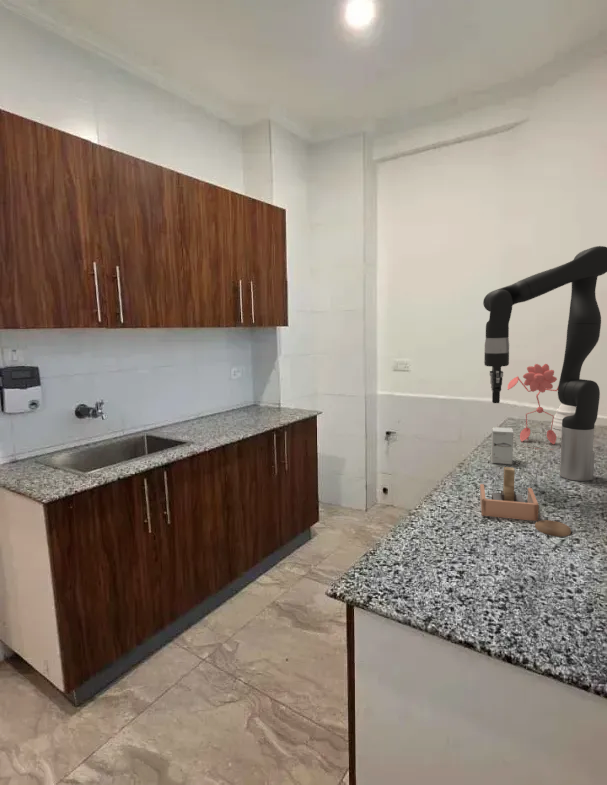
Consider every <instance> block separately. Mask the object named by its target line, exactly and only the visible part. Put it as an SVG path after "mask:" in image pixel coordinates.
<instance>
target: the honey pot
mask: <svg viewBox="0 0 607 785" xmlns="http://www.w3.org/2000/svg"><path fill="white" fill-rule="evenodd" d="M575 411H576V407H575V406H569V405H564V404H562V403H560V405H559V407H558V408H556V409H555V413H554V415H553V416H554V419H553V418H552V419H553V425H552V421H551V423H550V426H551V425H552V431H554V433H555V434H556V438H560V439H561V436H562V420H563V418H564V417H567V416H572V415H574V414H575Z"/></svg>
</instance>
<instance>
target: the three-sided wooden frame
mask: <svg viewBox="0 0 607 785" xmlns="http://www.w3.org/2000/svg"><path fill="white" fill-rule="evenodd" d="M536 497H537V496H536V495H535V493H534V490H533V488H532V487H528V488H527V502H525V501H524V502H514V501H503V500H492V498H486V490H485V484H484V483H480V484H479V502H480V513H481V516H483V517H493V518H503V519H504V518H505V519H512V520H514V519H515V520H523V521H524V520H525V521H533V522H534V521H536V522H537V521H539V509H540V508H539V506H540V504H539V503H538V500H537V498H536Z"/></svg>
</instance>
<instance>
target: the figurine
mask: <svg viewBox="0 0 607 785" xmlns="http://www.w3.org/2000/svg"><path fill="white" fill-rule="evenodd" d="M526 370H527V372H526V373H524V374H523V376H522V378H524V383H523V381H522V380H521V379H520V377H519V376H518V375H517V376H516V377H514V378H512V379H511V380H510V381H509V382H508V384H507V390H508V391H509V390H511V389H513V388H514V387H515V386H517V384H518V382H520V384H521V385H522V386H523V388H524V389H525V390H526V391H527V392H530V393H531V392H533V393H534V392H536V391H538V393H537V394H536V401H537V403H538V406H537V408H536V410H533V411H530V412H527V413H525V422H526V423H525V425H526V427H524V428H523V429H522V430H521V431H520V433H519V438H520V442H521V443H522V442H524V441H526V440H527V441H528V440H530V439H529V437H530V435H531V429H530V427H528V415H529V414H532V413H536V412H537V413H538V414H541V413H545V414H547V415H549V416H552V421H551V422H552V425H553V419H554V416H555V415H553V414H550V413H549V412H547V411H544V408H543V407H542V406H541V404H540V401H539V395H540V393H542V394H543V393H545V392H546V391H550V392H558V386H559V384H558V385H557V388H556V389H553V387H554V386H553V383H555V382H556V381H557V380H558V378H557V377H556V376H554V375H555V370H554V369H550V365H549V364H548V363H545V364H543V365H540V364H538V363H535V364H534V366H531V365H529V366H527V367H526ZM527 386H529V389H528V387H527ZM552 425H551V424H550V429H548V430H547V431H546V438H547V440H548V441H549V442H550V444H552V445H553V446H554V445H555V444H556V441H557V437H556V434H555V433H554V431H552ZM523 447H526V445H525V446H524V445H523ZM529 448H530V449H532V447H530V446H528V449H529ZM534 449H535V450H540V448H538V447H534ZM558 449H559V450H561V447H559V448H558ZM549 450H551V451H552V450H553V448H549Z"/></svg>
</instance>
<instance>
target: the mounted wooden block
mask: <svg viewBox="0 0 607 785" xmlns="http://www.w3.org/2000/svg"><path fill="white" fill-rule="evenodd" d="M515 473H516V472H515V468H514V467H510V466H509V467H508V466H504V467H503V482H502V483H503V486H502V490H500V493H496V492H492V493H491V499H492V500H503V501H514V502H525V499H524V497H523V495H522V494H516V491H515Z"/></svg>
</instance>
